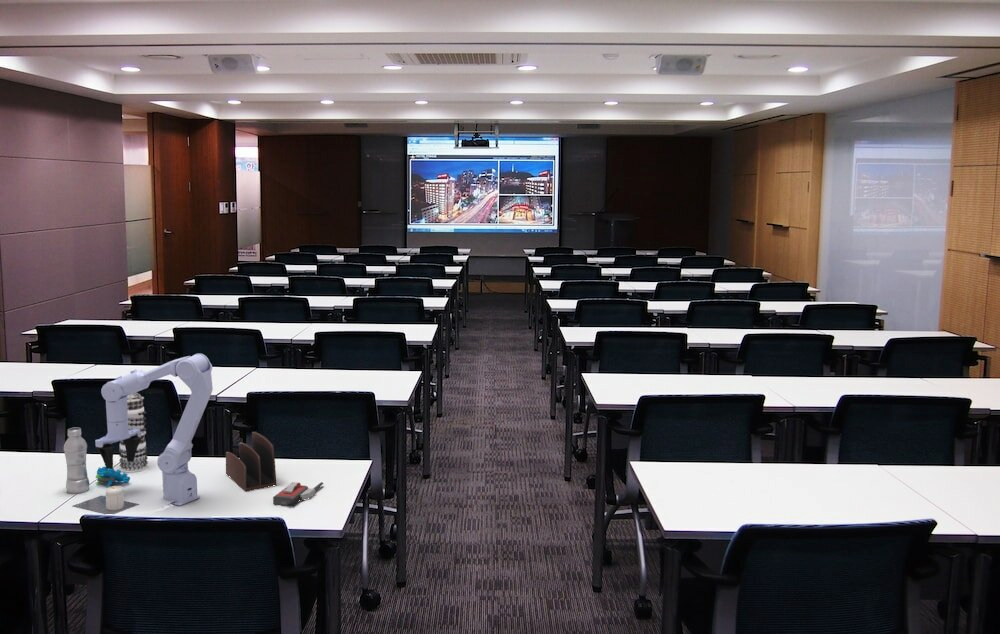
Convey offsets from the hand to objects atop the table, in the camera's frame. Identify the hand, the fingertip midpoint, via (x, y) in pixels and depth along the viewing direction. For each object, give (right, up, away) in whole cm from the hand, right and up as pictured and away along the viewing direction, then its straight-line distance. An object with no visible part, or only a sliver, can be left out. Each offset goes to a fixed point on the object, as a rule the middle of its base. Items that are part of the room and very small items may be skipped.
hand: (120, 464), depth 262 cm
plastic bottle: (-14, -10, +4) cm, 18 cm away
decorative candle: (-8, -6, +28) cm, 30 cm away
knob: (+3, -10, -10) cm, 15 cm away
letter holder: (+34, -8, +17) cm, 39 cm away
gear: (-7, -9, +10) cm, 15 cm away
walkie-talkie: (+52, -11, +3) cm, 54 cm away
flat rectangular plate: (0, -11, -8) cm, 14 cm away
